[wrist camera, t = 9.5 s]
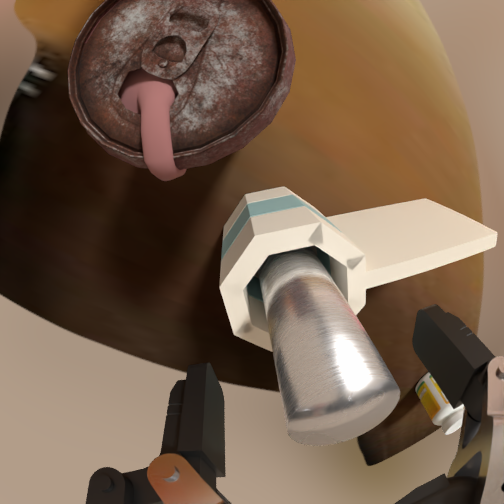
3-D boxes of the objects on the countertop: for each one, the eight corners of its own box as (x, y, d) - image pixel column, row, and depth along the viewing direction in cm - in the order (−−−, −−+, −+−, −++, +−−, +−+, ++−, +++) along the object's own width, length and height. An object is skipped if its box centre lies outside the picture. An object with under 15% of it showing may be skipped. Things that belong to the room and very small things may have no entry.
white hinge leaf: (217, 200, 20) (207, 246, 12) (424, 165, 20) (500, 188, 12) (238, 283, 23) (242, 362, 15) (425, 239, 23) (488, 284, 14)
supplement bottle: (437, 362, 30) (470, 408, 22) (446, 373, 32) (475, 415, 23) (409, 386, 32) (437, 435, 23) (420, 395, 33) (445, 439, 25)
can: (174, 160, 19) (72, 209, 6) (164, 77, 16) (59, -2, 3) (259, 148, 19) (318, 169, 6) (249, 64, 16) (283, -52, 4)
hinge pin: (247, 217, 21) (279, 400, 6) (293, 207, 21) (409, 362, 6) (256, 259, 22) (292, 453, 7) (299, 250, 22) (390, 425, 7)
